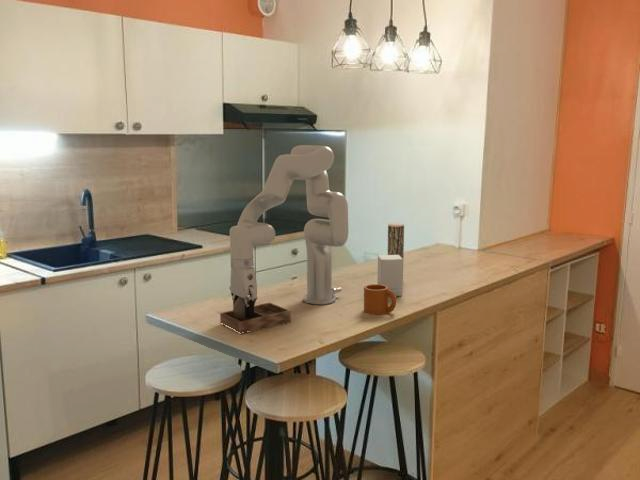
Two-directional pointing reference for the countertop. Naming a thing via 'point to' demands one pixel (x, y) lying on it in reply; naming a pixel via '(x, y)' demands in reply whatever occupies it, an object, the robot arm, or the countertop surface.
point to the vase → (240, 309)
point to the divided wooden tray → (258, 318)
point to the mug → (378, 299)
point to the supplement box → (391, 272)
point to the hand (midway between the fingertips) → (243, 314)
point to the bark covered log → (396, 239)
